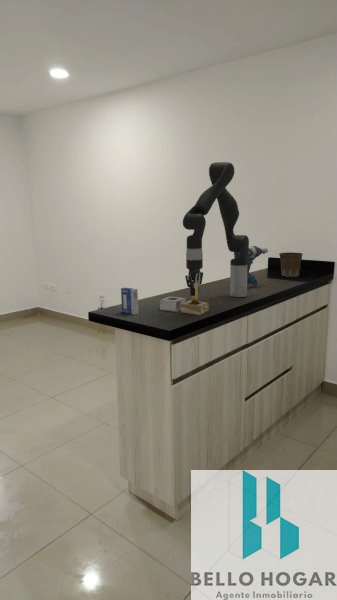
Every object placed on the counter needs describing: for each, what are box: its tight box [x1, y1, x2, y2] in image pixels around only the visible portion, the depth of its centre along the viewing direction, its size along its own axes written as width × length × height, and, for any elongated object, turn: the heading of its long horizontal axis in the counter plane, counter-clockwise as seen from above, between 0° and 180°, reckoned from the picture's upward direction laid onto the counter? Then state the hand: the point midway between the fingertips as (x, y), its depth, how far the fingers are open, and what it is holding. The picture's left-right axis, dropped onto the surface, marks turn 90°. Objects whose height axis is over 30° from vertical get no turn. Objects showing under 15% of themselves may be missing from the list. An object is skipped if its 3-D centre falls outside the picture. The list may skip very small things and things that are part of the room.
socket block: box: [159, 296, 187, 313], centre depth 200 cm, size 9×9×5 cm
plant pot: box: [278, 252, 303, 278], centre depth 291 cm, size 16×16×16 cm
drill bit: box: [190, 281, 199, 305], centre depth 193 cm, size 3×3×12 cm
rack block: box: [180, 300, 210, 316], centre depth 194 cm, size 9×10×4 cm
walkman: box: [120, 287, 139, 315], centre depth 193 cm, size 8×3×12 cm, turn 56°
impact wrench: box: [233, 245, 268, 289], centre depth 252 cm, size 8×23×25 cm, turn 112°
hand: (194, 294), depth 193 cm, fingers closed on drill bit, 3 cm apart
